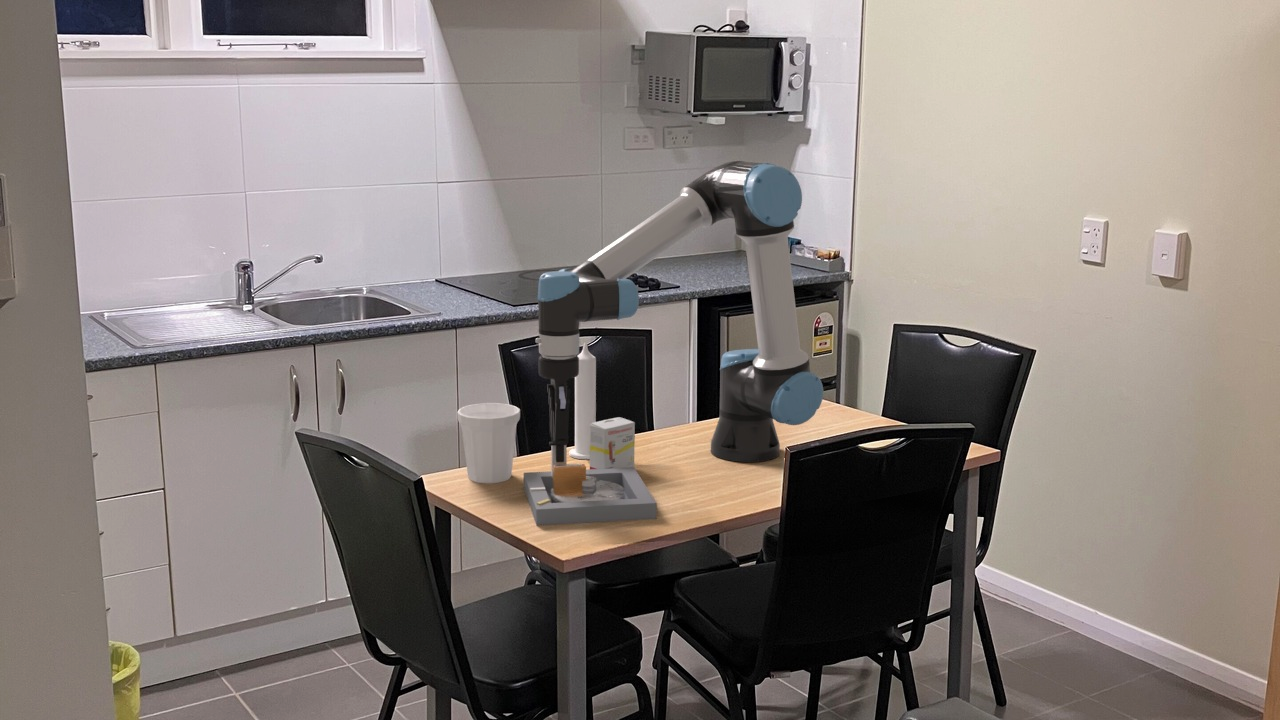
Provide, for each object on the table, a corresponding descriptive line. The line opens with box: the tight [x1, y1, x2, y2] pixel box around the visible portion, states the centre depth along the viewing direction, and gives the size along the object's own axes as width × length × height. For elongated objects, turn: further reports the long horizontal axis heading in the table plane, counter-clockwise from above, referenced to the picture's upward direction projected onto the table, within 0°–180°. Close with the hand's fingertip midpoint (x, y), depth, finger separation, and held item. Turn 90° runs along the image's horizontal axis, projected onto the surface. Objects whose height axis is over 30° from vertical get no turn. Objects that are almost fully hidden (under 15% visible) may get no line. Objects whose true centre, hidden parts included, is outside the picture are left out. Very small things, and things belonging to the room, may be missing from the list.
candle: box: [568, 342, 597, 460], centre depth 269 cm, size 7×7×25 cm
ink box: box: [589, 416, 636, 470], centre depth 255 cm, size 9×5×12 cm, turn 133°
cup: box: [456, 402, 521, 484], centre depth 250 cm, size 12×12×15 cm
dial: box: [551, 463, 625, 503], centre depth 235 cm, size 14×14×7 cm
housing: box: [523, 466, 658, 526], centre depth 236 cm, size 22×22×5 cm
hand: (558, 476), depth 237 cm, fingers closed
